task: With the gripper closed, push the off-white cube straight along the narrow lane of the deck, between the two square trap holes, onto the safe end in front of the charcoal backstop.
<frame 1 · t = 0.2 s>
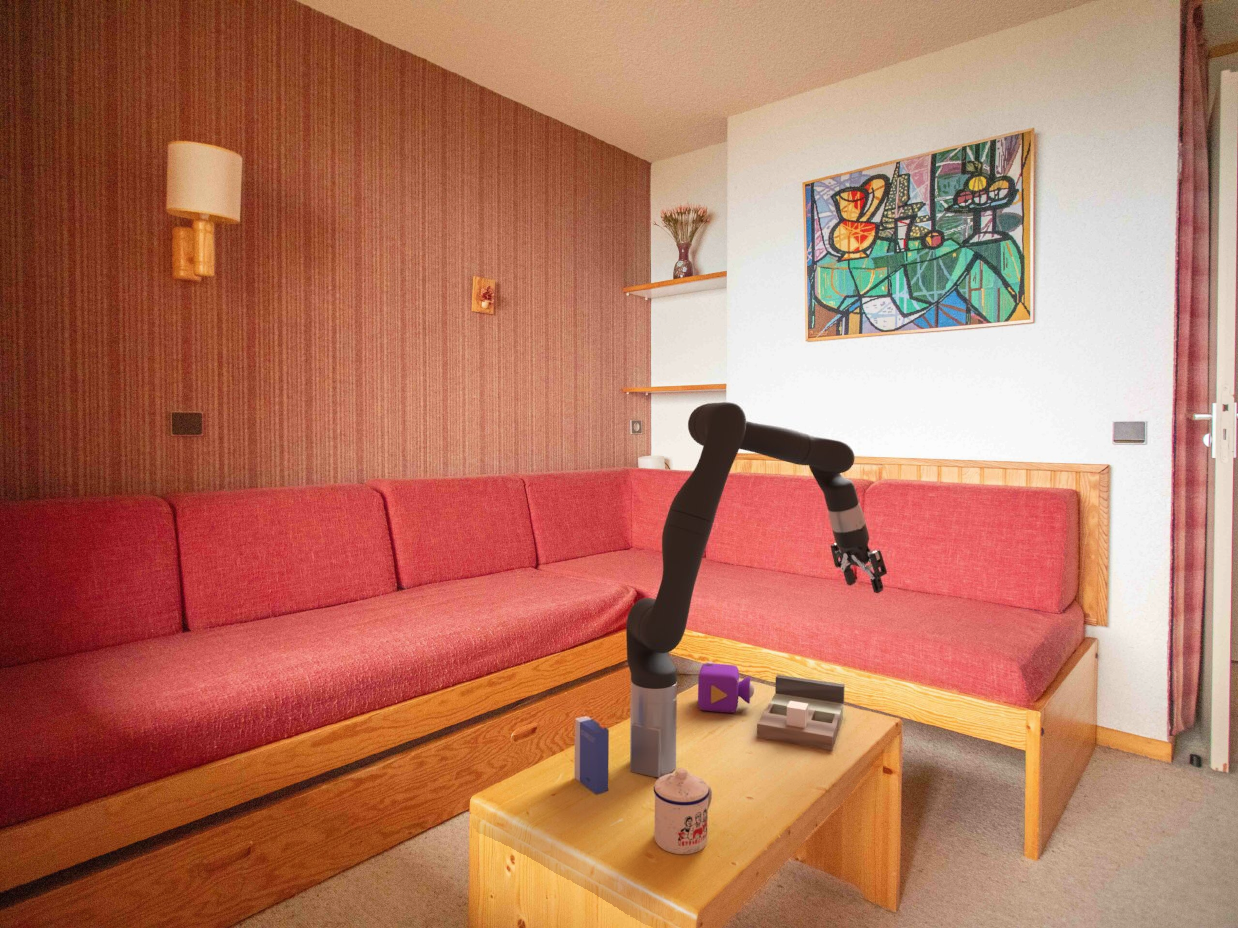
hand: (865, 587, 165), 31 cm above the table, tool tilted 20°, fingers open, 8 cm apart
walkman: (590, 785, 134), on the table
teacup with lid: (686, 837, 117), on the table
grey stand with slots: (802, 724, 162), on the table
block: (797, 722, 156), point 3 cm above the table, touching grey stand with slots
toy camera: (725, 707, 172), on the table
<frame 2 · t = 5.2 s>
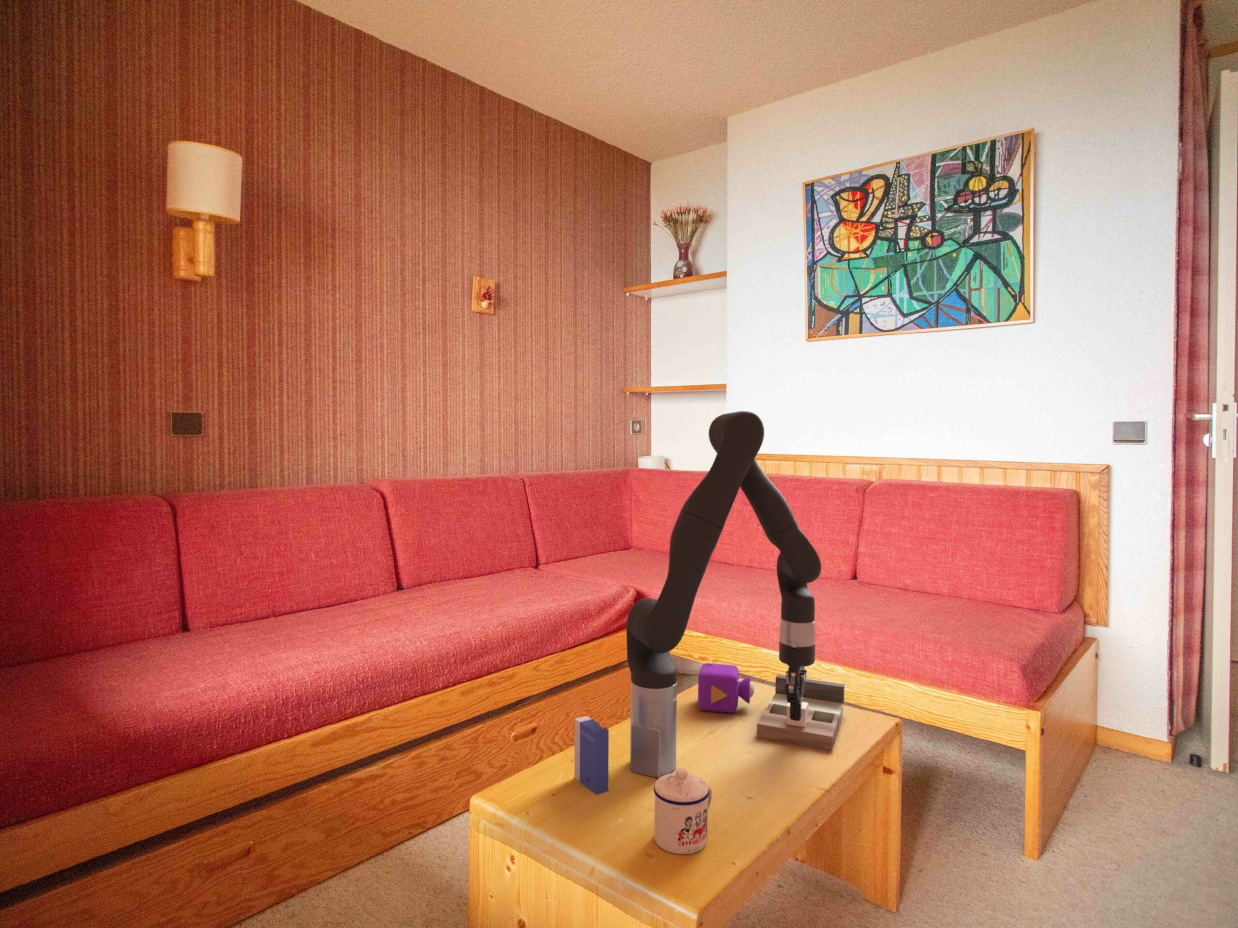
hand: (795, 719, 152), 5 cm above the table, tool pointing down, fingers closed
block: (797, 722, 156), point 3 cm above the table, touching gripper, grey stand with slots
everything else where it was.
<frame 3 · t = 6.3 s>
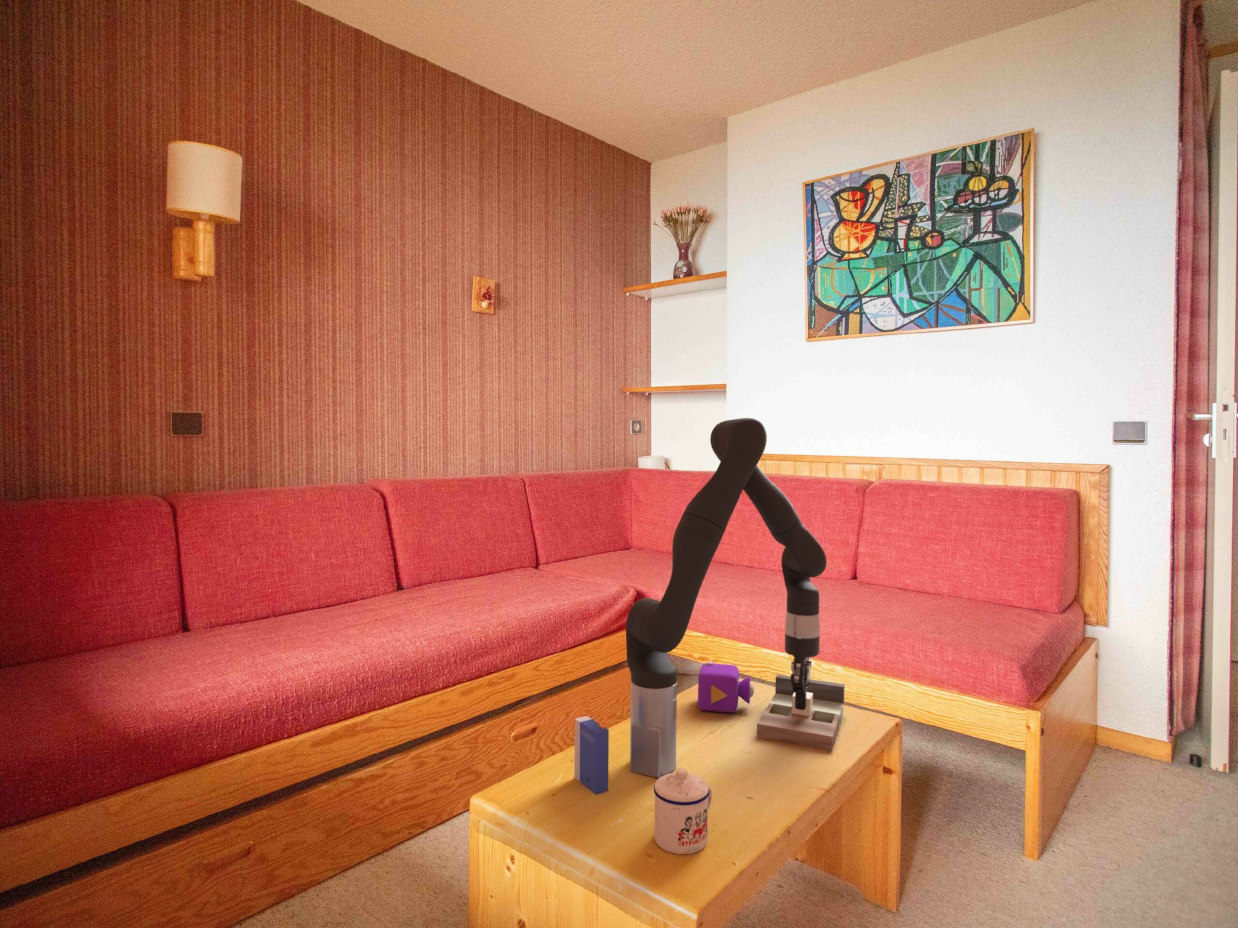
hand: (800, 708, 158), 5 cm above the table, tool pointing down, fingers closed
block: (802, 711, 162), point 3 cm above the table, touching gripper
everything else where it was.
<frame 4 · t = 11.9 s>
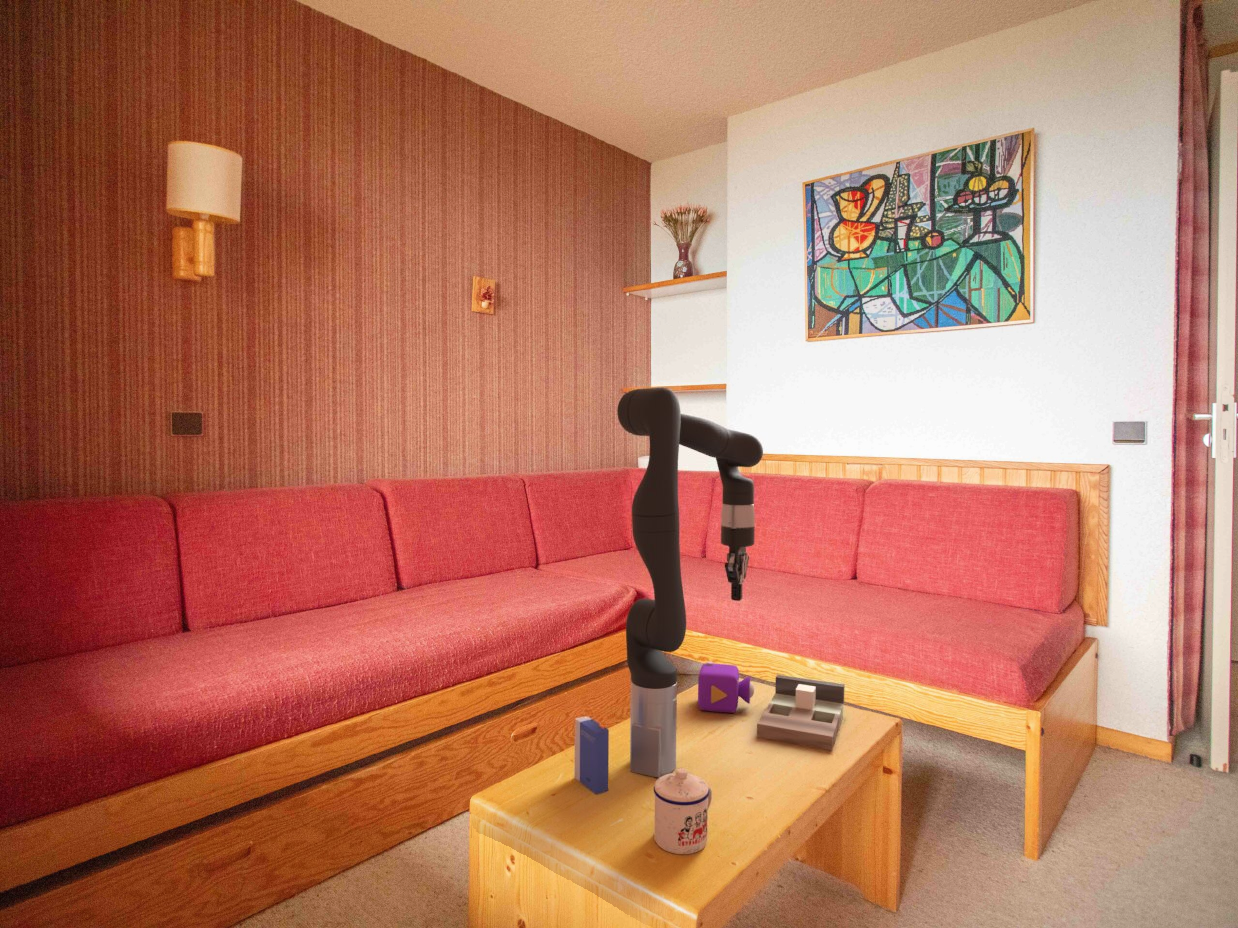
hand: (736, 599, 160), 29 cm above the table, tool pointing down, fingers closed
block: (805, 704, 166), point 3 cm above the table, touching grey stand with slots
everything else where it was.
at the end: block 1.2 cm from the target spot on the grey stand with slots, point 3.0 cm above the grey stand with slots's base; block tilted 0°; the gripper is holding nothing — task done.
